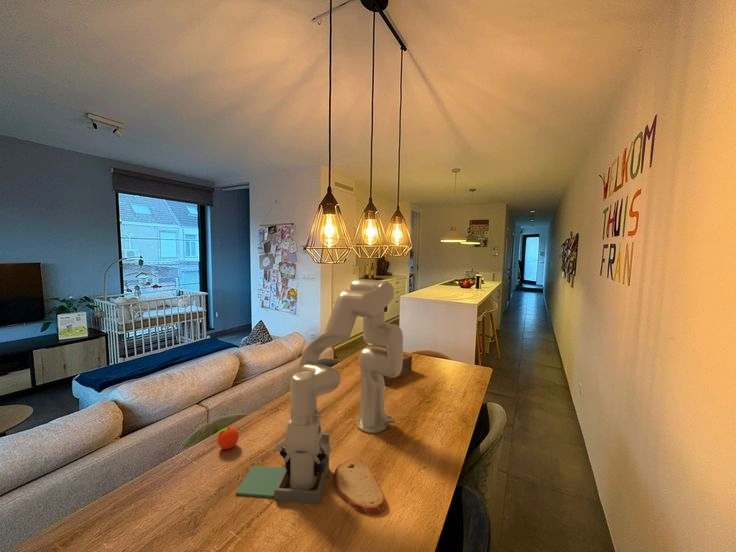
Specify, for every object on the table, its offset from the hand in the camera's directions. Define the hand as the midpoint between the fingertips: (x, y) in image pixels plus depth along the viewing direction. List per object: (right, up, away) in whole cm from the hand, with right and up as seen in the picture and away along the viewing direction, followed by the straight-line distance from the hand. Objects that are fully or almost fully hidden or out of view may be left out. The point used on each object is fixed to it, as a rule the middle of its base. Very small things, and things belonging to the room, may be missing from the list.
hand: (303, 472), depth 90 cm
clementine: (-30, -2, +16) cm, 35 cm away
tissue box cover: (+30, +1, +84) cm, 90 cm away
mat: (-13, -4, +1) cm, 13 cm away
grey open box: (0, -4, 0) cm, 4 cm away
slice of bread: (+17, -5, 0) cm, 18 cm away
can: (0, -4, 0) cm, 4 cm away
